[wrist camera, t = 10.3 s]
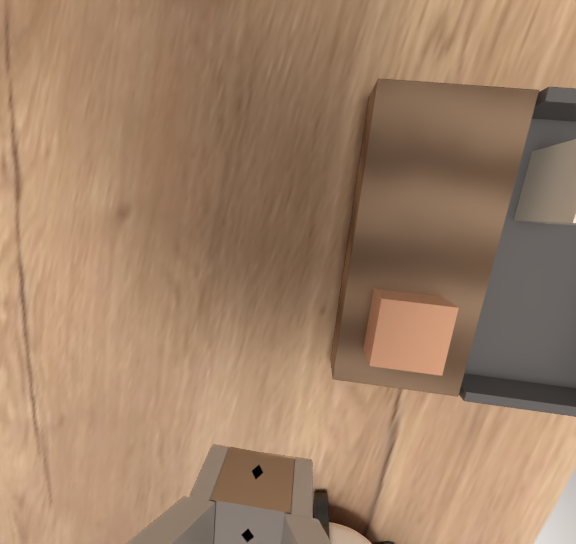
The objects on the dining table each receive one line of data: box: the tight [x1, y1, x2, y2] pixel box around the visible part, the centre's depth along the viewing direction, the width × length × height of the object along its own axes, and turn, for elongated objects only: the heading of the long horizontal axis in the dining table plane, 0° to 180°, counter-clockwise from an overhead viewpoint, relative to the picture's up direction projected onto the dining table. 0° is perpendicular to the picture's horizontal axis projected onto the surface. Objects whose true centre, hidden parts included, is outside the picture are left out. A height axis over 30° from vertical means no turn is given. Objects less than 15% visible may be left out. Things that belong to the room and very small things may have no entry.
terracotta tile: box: [363, 289, 459, 376], centre depth 20 cm, size 5×5×2 cm
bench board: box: [331, 79, 539, 396], centre depth 22 cm, size 22×10×3 cm, turn 175°
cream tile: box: [514, 139, 576, 225], centre depth 18 cm, size 5×5×2 cm
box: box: [459, 87, 576, 417], centre depth 21 cm, size 22×12×4 cm, turn 175°
